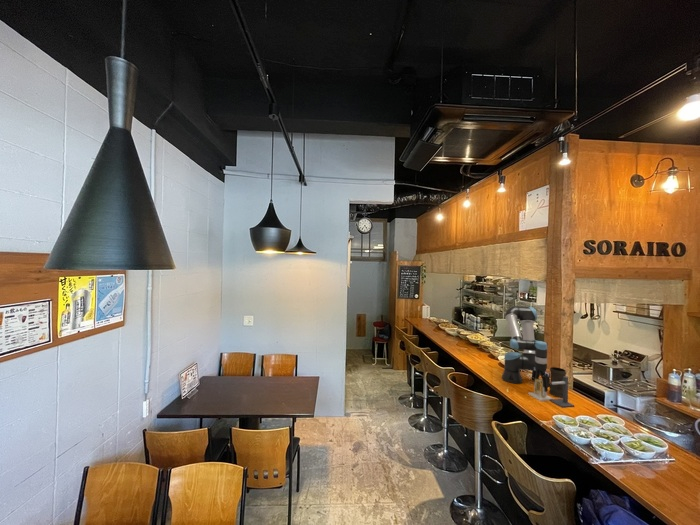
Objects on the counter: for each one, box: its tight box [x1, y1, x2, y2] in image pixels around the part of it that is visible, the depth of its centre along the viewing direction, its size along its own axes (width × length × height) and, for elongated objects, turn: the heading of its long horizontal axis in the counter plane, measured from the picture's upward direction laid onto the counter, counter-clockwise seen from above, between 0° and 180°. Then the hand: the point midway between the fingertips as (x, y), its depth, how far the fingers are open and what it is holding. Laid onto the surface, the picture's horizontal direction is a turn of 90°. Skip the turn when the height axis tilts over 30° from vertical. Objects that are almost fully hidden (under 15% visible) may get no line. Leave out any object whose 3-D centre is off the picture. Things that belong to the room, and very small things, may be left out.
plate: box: [527, 391, 554, 402], centre depth 213 cm, size 11×11×1 cm
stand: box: [549, 375, 575, 409], centre depth 203 cm, size 10×13×19 cm
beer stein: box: [548, 366, 567, 399], centre depth 220 cm, size 15×11×20 cm
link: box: [534, 377, 546, 397], centre depth 213 cm, size 7×3×11 cm, turn 10°
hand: (540, 393), depth 213 cm, fingers closed on link, 7 cm apart
